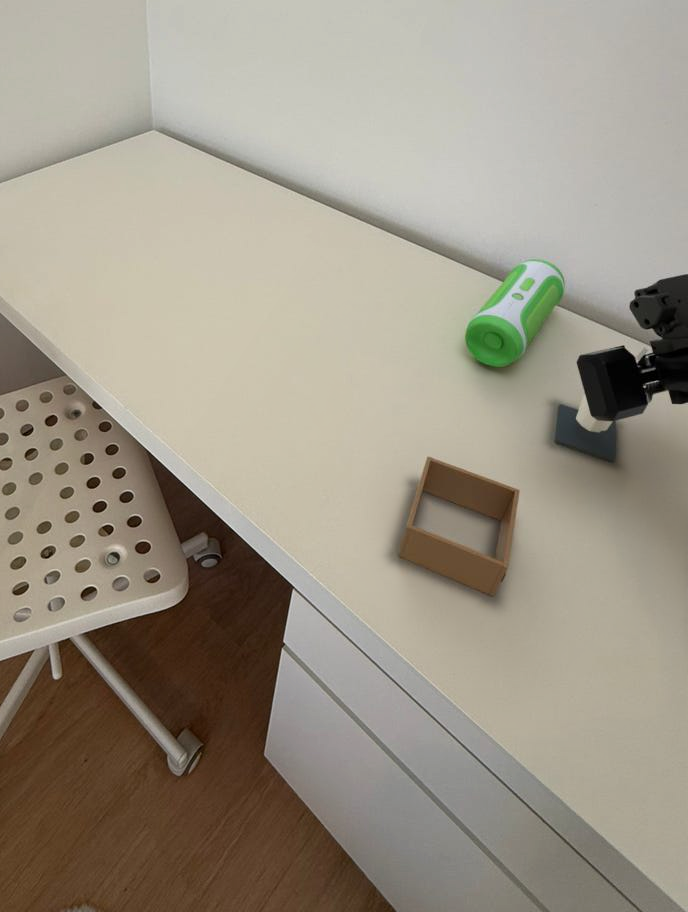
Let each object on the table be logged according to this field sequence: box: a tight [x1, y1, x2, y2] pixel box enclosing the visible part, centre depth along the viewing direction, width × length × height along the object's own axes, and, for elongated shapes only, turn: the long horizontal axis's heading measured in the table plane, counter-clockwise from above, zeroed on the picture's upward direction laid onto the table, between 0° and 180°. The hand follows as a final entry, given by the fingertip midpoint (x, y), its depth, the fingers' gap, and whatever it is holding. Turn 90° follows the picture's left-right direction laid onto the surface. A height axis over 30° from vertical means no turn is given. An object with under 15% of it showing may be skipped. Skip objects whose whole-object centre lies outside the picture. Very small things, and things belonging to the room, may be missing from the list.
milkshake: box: [576, 347, 649, 433], centre depth 72 cm, size 4×5×10 cm
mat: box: [554, 403, 617, 463], centre depth 76 cm, size 6×6×1 cm
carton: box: [397, 456, 521, 597], centre depth 64 cm, size 9×9×5 cm
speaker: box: [464, 258, 566, 368], centre depth 87 cm, size 18×7×8 cm, turn 139°
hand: (605, 370), depth 72 cm, fingers closed on milkshake, 5 cm apart
